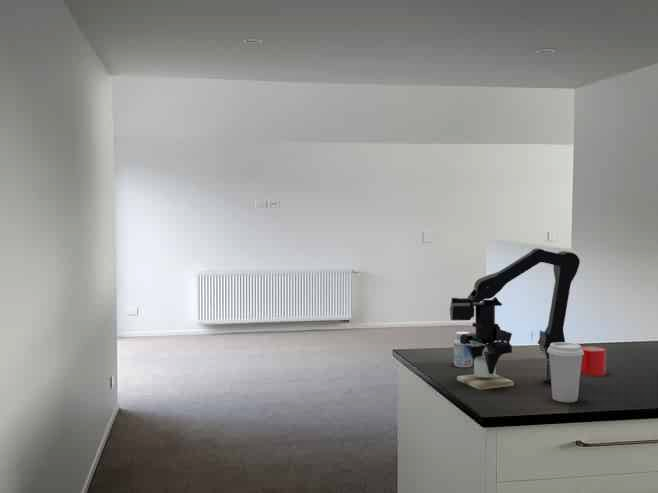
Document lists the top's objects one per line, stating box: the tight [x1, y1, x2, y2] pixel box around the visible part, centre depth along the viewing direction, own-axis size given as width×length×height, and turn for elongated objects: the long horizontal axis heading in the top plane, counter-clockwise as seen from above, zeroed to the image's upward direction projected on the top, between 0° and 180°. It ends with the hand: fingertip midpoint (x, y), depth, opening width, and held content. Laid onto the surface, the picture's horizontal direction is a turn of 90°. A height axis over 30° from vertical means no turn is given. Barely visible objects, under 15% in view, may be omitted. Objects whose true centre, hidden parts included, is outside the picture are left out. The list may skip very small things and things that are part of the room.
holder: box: [456, 373, 515, 391], centre depth 196 cm, size 12×12×3 cm
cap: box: [473, 355, 497, 378], centre depth 196 cm, size 6×6×5 cm
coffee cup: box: [547, 341, 584, 403], centre depth 178 cm, size 10×10×15 cm
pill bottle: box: [453, 331, 473, 368], centre depth 217 cm, size 6×6×11 cm
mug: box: [580, 345, 607, 377], centre depth 208 cm, size 8×12×8 cm, turn 49°
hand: (485, 371), depth 196 cm, fingers closed on cap, 6 cm apart
